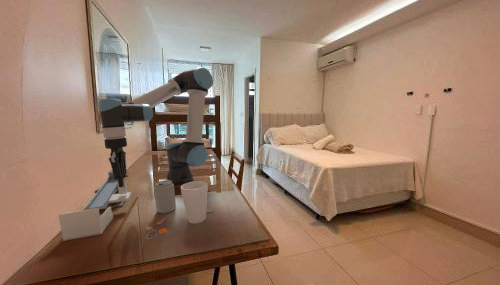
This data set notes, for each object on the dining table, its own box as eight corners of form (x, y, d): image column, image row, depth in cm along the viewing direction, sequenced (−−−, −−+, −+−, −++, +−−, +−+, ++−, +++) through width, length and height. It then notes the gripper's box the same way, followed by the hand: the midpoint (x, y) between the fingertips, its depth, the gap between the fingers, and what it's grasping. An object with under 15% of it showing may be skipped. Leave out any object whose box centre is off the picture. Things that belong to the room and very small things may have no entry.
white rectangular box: (81, 223, 77) (77, 200, 76) (113, 218, 80) (110, 195, 79) (63, 240, 66) (58, 214, 65) (101, 234, 69) (97, 208, 68)
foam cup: (182, 216, 79) (179, 183, 77) (207, 210, 82) (204, 179, 81) (185, 228, 70) (182, 191, 68) (212, 221, 74) (209, 186, 72)
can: (153, 210, 85) (150, 182, 83) (171, 204, 90) (168, 178, 88) (161, 216, 79) (158, 186, 78) (179, 209, 85) (176, 181, 83)
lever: (111, 178, 104) (110, 170, 102) (140, 174, 107) (138, 167, 106) (87, 210, 78) (85, 200, 77) (126, 205, 82) (124, 195, 80)
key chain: (167, 235, 67) (167, 233, 67) (142, 241, 64) (142, 239, 64) (167, 218, 79) (167, 216, 78) (146, 222, 76) (146, 220, 76)
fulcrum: (100, 203, 95) (98, 186, 94) (127, 199, 98) (125, 183, 97) (93, 211, 87) (90, 192, 86) (122, 206, 90) (119, 189, 89)
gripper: (110, 137, 88) (118, 189, 92) (97, 140, 76) (107, 201, 79) (129, 135, 90) (136, 187, 94) (120, 138, 78) (129, 197, 81)
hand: (123, 193), depth 86 cm, fingers closed
